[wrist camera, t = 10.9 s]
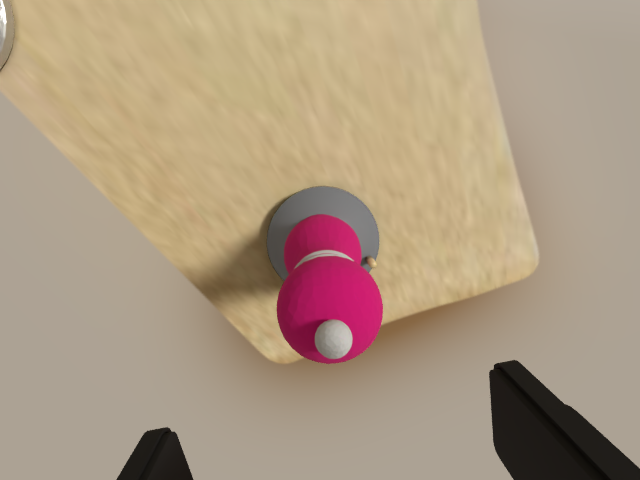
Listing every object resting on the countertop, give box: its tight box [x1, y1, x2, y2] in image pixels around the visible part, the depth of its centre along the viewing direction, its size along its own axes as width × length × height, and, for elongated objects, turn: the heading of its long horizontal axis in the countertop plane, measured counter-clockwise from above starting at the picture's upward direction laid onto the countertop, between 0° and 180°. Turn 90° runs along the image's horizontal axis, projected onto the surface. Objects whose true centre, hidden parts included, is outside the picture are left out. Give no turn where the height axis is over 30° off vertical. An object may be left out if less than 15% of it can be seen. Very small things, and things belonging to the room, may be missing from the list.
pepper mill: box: [277, 214, 383, 364], centre depth 23 cm, size 7×7×20 cm
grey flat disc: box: [267, 186, 379, 281], centre depth 33 cm, size 12×12×3 cm
